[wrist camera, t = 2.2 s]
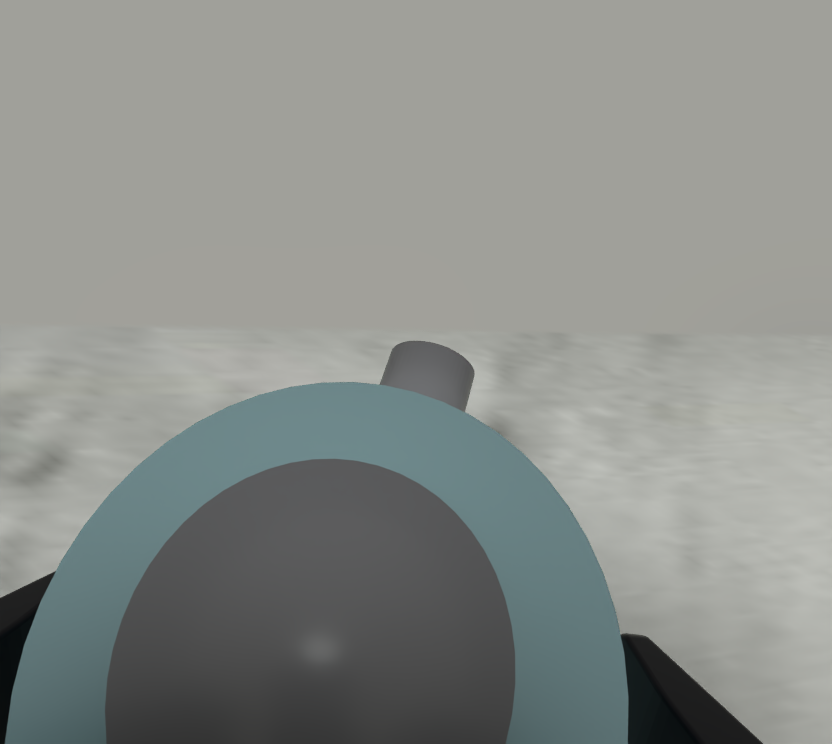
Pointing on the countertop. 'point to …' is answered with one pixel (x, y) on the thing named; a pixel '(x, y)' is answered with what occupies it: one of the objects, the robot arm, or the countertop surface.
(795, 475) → the countertop surface
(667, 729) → the robot arm
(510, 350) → the countertop surface
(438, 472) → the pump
